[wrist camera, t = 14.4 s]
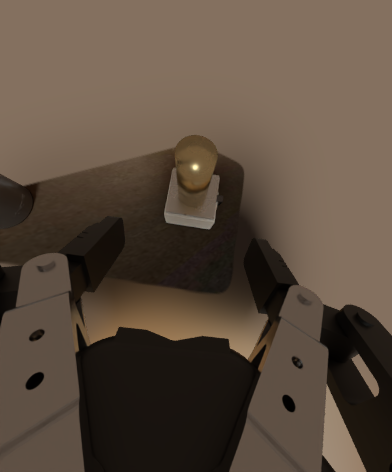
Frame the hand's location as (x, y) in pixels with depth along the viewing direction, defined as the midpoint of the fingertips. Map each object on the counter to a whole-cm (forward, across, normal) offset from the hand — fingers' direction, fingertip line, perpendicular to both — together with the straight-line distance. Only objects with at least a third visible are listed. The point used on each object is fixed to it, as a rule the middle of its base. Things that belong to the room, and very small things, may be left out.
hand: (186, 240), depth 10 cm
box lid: (+23, -1, +6) cm, 24 cm away
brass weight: (+20, 0, +4) cm, 20 cm away
